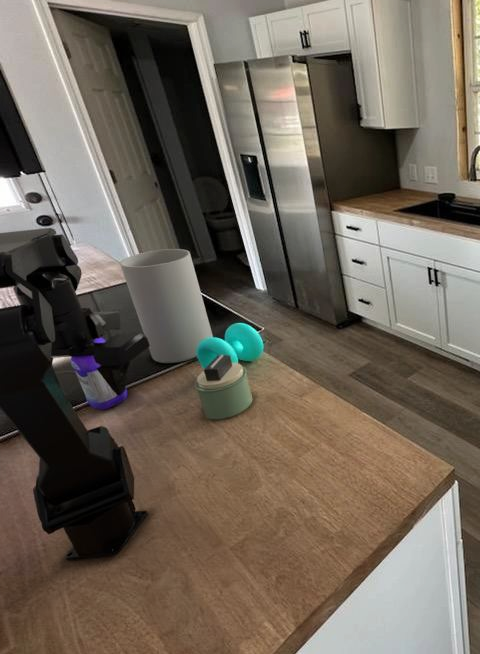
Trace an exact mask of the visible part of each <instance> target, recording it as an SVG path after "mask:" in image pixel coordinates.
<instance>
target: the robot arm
mask: <svg viewBox="0 0 480 654" xmlns="http://www.w3.org/2000/svg"><path fill="white" fill-rule="evenodd" d="M82 275H83V273H82V269H81V267H80V266H79V258H78V257H77V255H76V253H75V252H74V250H73V248H72V247H71V245H70V243H69V241H68V240H67V238H66V237H65V235H64V234H61V233H60V234H57V231H56V229H54V228H53V227H45V228H35V229H26V230H25V229H24V230H16V231H7V232H6V231H5V232H0V290H1V289H6V288H7V289H8V288H13V289H12V290H13V292H14V294H15V296H16V298H17V301H18V303H19V304H17V305H12V306H6V307H1V308H0V411H1V412H2V413H3V414H4V416H5V417H6V418H7V420H8V421H9V422H10V423H11V424H12V426H13V427H14V428H15V429H16V430H17V432H18V433H19V434H20V436H22V438H23V439H24V441H25V442H26V443H27V444H28V445H29V446H30V448H31V449H32V450H33V451H34V453H35V454H36V455H37V457H39V462H38V463H39V464H38V475H37V476H36V478H35V486H34V487H33V488H32V494H33V497H34V503H35V508H36V513H37V516H38V519H39V521H40V522H41V528H42V530H43V532H45V533H46V534H47V535H52V534H53V533H55V532H56V531H59V530H61V529H63V530H64V532H65V534H66V536H67V538H68V540H69V541H70V544H71V545H72V547H71V548H70V549H69V550H68V552H67V553H66V554H65V556H64V559H65V560H66V561H71V560H81V559H83V560H84V559H93V558H101V557H110V556H111V557H112V556H116V555H118V554H119V553H120V552H121V551H122V550H123V548H124V547H125V546H126V544H127V543H128V542H129V541H130V539H131V538H132V536H134V533H135V532H136V531H137V530H138V528H140V526H141V524H142V523H143V522H144V520H145V519H147V516H148V515H149V513H148V511H147V510H137V508H136V506H135V503H134V500H135V475H134V473H133V469H132V466H131V463H130V459H129V456H128V453H127V451H126V448H125V446H124V445H120V446H119V445H118V443H117V442H116V440H115V438H114V437H112V435H111V433H110V430H109V429H108V427H105V426H103V425H99V426H96V427H93V428H91V429H87V427H86V426H85V424H84V422H83V421H82V419H81V418H80V416H79V415H78V413H77V412H76V410H75V408H74V407H73V405H72V404H71V402H70V401H69V399H68V398H67V396H66V394H65V393H64V391H63V390H62V386H61V384H60V382H59V379H58V376H57V374H56V371H55V368H54V367H53V361H54V359H58V358H71V357H73V356H93V357H94V360H95V362H96V363H98V364H99V365H101V366H99V367H98V368H97V370H98V372H99V373H100V374H101V376H102V377H103V378H104V379H105V381H106V382H107V383H108V385H109V386H110V387H111V389H112V390H113V391H114V392H115V393H116V394H117V395H121V394H122V393H123V392H124V391H125V388H126V386H127V385H126V384H127V380H128V372H129V368H130V365H131V362H132V361H133V360H135V358H137V357H138V356H139V355H140V354H142V353H143V352H144V351H146V350H147V349H149V346H150V345H149V342H148V339H147V337H146V335H144V333H141V332H132V333H131V332H129V333H128V332H127V333H116V334H115V335H113V336H112V337H111V338H109V339H106V342H104V343H95V341H94V340H95V339H96V338H103V337H104V336H105V335H106V333H105V332H108V331H113V330H114V331H118V330H121V311H120V310H113V311H112V310H111V311H108V310H107V311H93V309H91V307H82V306H81V303H80V300H79V297H78V295H77V290H78V287H79V284H80V281H81V280H82V279H81V278H82Z"/></svg>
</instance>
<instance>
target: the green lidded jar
mask: <svg viewBox="0 0 480 654" xmlns="http://www.w3.org/2000/svg"><path fill="white" fill-rule="evenodd" d="M194 388H195V390H196V392H197V394H198V396H199V400H200V404H201V406H202V410H203V414H204V416H205V417H206V418H208V419H209V420H223V419H224V420H225V419H228V418H231V417H235V416H236V415H239V414H241V413H242V412H244V411H245V410H246V409H248V408H249V407H250V406H251V405H252V402H253V400H254V399H253V394H252V390H251V386H250V382H249V378H248V370H247V369H246V367H245V366H242V364H240V363H239V362H238V363H232V367H231V368H230V369H229V370H228V372H227V373H226V374H225V375H224V376H223V377H222V379H221V380H217V381H207V380H206V376H205V373H204V370H203V371H201V372H200V373H199V375H198V376H197V378H196V380H195V382H194Z"/></svg>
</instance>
